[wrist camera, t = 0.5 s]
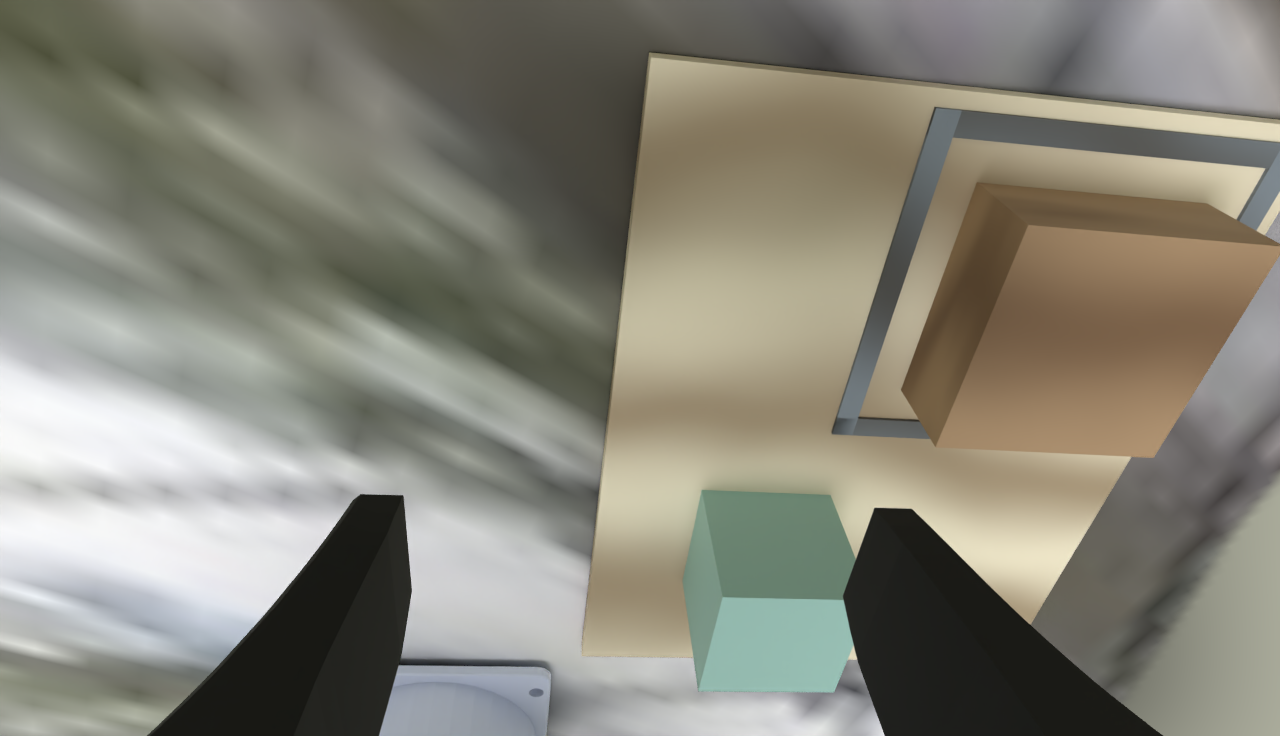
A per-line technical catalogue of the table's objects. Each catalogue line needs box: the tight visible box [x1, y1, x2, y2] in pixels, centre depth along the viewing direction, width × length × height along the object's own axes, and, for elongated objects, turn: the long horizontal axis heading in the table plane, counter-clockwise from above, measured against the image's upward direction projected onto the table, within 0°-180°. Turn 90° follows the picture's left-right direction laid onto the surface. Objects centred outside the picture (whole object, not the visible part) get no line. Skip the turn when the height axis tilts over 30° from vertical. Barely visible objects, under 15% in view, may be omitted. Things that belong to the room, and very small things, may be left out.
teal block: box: [682, 490, 856, 692], centre depth 23 cm, size 4×4×4 cm
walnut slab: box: [901, 182, 1280, 458], centre depth 19 cm, size 6×6×2 cm
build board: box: [582, 52, 1280, 660], centre depth 23 cm, size 20×16×1 cm
